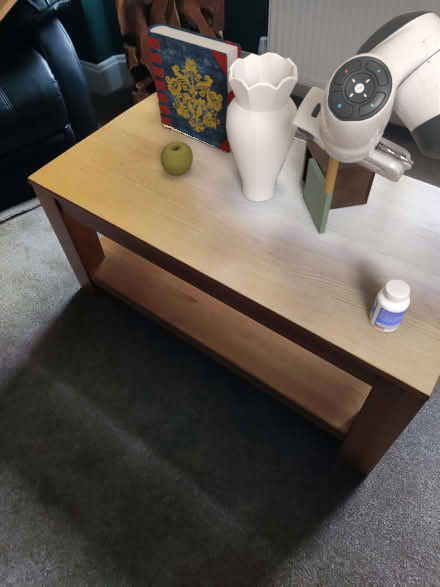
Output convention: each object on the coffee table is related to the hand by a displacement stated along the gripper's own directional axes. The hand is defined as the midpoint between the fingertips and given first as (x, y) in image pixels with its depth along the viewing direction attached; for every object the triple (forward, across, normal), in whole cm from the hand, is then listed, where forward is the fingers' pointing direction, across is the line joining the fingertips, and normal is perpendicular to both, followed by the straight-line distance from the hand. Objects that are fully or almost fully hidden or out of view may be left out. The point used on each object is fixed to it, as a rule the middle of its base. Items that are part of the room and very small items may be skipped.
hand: (347, 153), depth 77 cm
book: (+35, +41, +5) cm, 54 cm away
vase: (+22, +15, +12) cm, 29 cm away
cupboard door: (+18, +1, +11) cm, 21 cm away
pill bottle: (+2, -22, +23) cm, 31 cm away
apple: (+23, +36, +17) cm, 46 cm away
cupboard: (+25, 0, +3) cm, 25 cm away
